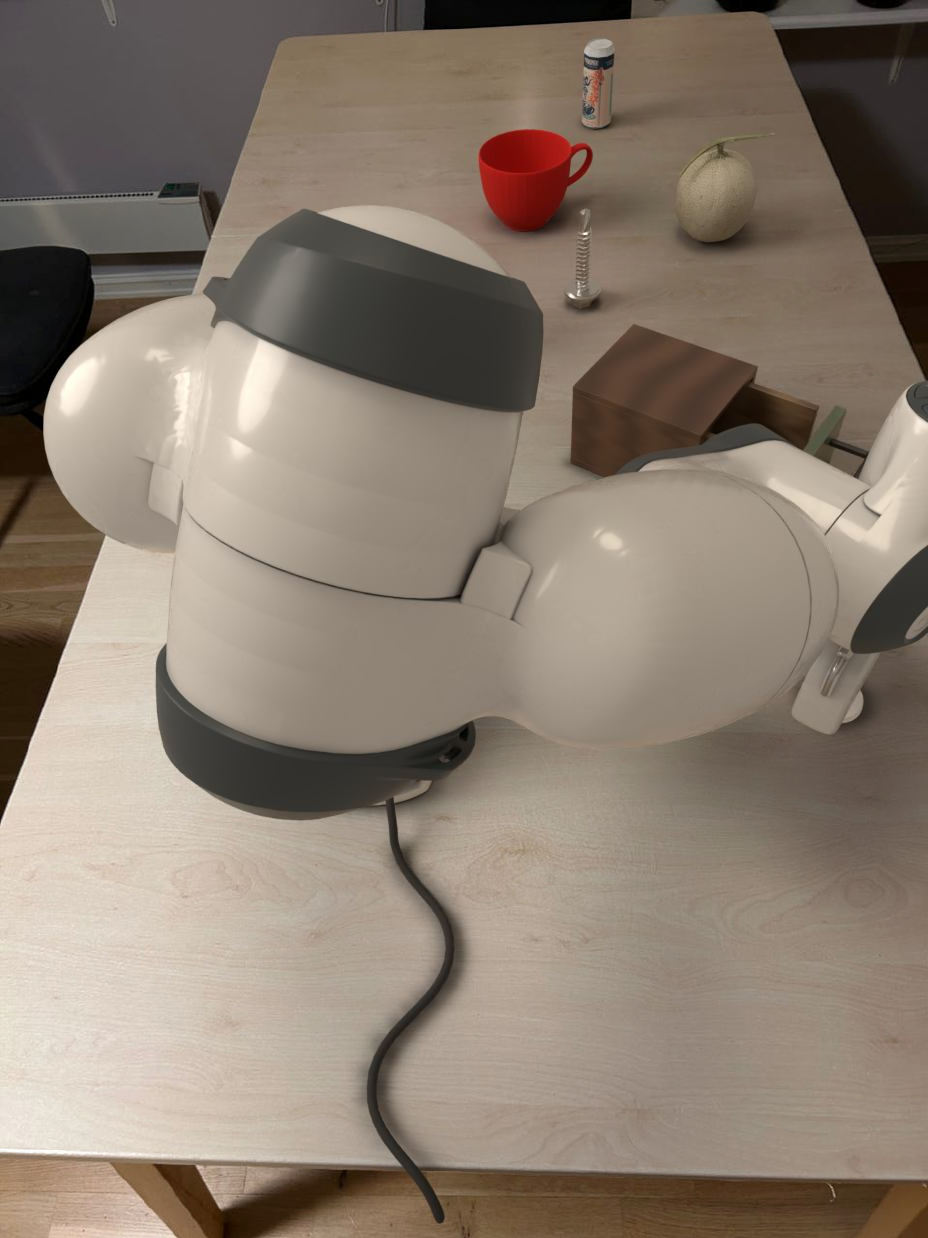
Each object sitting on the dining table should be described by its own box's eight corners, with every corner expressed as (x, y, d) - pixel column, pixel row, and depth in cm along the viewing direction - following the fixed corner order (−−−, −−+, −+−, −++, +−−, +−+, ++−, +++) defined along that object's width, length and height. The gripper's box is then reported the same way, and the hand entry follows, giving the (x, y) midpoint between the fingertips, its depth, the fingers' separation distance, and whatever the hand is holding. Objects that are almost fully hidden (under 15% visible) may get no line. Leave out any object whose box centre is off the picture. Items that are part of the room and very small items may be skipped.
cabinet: (741, 444, 105) (758, 366, 96) (687, 512, 99) (701, 435, 90) (626, 400, 110) (633, 323, 102) (570, 462, 105) (572, 386, 96)
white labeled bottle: (576, 121, 155) (578, 41, 145) (601, 114, 156) (605, 34, 146) (590, 132, 152) (593, 52, 143) (616, 125, 153) (621, 44, 144)
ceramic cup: (609, 221, 135) (614, 152, 127) (502, 251, 132) (500, 182, 124) (570, 182, 143) (572, 114, 135) (468, 210, 140) (464, 142, 132)
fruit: (652, 229, 133) (663, 120, 121) (723, 209, 135) (741, 100, 123) (688, 265, 127) (703, 154, 115) (762, 244, 129) (785, 133, 117)
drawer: (875, 492, 97) (900, 427, 90) (831, 561, 92) (854, 497, 85) (710, 430, 105) (722, 365, 98) (661, 490, 100) (670, 426, 93)
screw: (604, 294, 124) (595, 315, 121) (568, 290, 125) (559, 310, 122) (609, 200, 114) (600, 220, 111) (571, 196, 115) (560, 216, 112)
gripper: (880, 688, 63) (830, 785, 74) (978, 506, 73) (921, 615, 84) (792, 647, 66) (756, 746, 77) (898, 477, 76) (853, 586, 86)
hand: (843, 677), depth 80 cm, fingers closed
